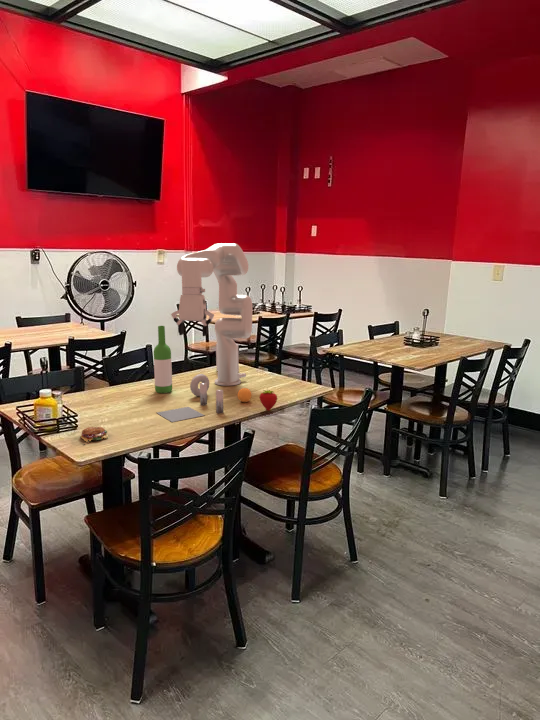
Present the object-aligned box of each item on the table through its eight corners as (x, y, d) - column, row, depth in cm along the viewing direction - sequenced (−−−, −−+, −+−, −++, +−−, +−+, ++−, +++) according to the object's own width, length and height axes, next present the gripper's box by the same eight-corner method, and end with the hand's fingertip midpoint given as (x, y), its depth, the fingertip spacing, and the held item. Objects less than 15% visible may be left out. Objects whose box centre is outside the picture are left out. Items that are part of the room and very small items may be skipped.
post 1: (205, 403, 225) (204, 382, 223) (208, 404, 223) (207, 383, 221) (199, 404, 223) (198, 383, 221) (202, 405, 221) (201, 384, 219)
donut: (193, 399, 231) (193, 376, 229) (188, 397, 233) (188, 375, 231) (211, 394, 238) (210, 372, 236) (206, 393, 240) (205, 371, 238)
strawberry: (272, 414, 210) (273, 389, 208) (256, 411, 214) (256, 387, 212) (280, 410, 215) (280, 386, 213) (263, 407, 219) (263, 384, 217)
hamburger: (65, 439, 184) (64, 422, 183) (105, 431, 192) (104, 415, 191) (77, 451, 173) (76, 434, 172) (119, 442, 181) (118, 425, 179)
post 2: (221, 410, 214) (220, 389, 212) (224, 412, 212) (224, 390, 210) (215, 412, 213) (214, 390, 211) (218, 413, 210) (218, 391, 209)
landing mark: (188, 407, 219) (188, 406, 219) (204, 415, 208) (204, 415, 208) (156, 413, 211) (156, 412, 211) (171, 422, 200) (171, 421, 200)
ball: (246, 399, 231) (246, 385, 230) (254, 402, 226) (254, 388, 225) (234, 401, 228) (234, 387, 226) (242, 404, 223) (242, 390, 221)
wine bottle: (174, 389, 246) (172, 325, 240) (168, 394, 238) (166, 327, 232) (158, 388, 247) (156, 324, 241) (152, 393, 240) (149, 327, 233)
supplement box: (231, 369, 287) (230, 341, 284) (239, 372, 280) (238, 344, 277) (215, 371, 283) (215, 343, 280) (223, 374, 275) (223, 346, 272)
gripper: (216, 291, 208) (217, 334, 212) (174, 290, 212) (176, 332, 216) (210, 292, 201) (211, 337, 205) (167, 291, 205) (168, 335, 208)
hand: (193, 335), depth 210 cm, fingers open, 9 cm apart
